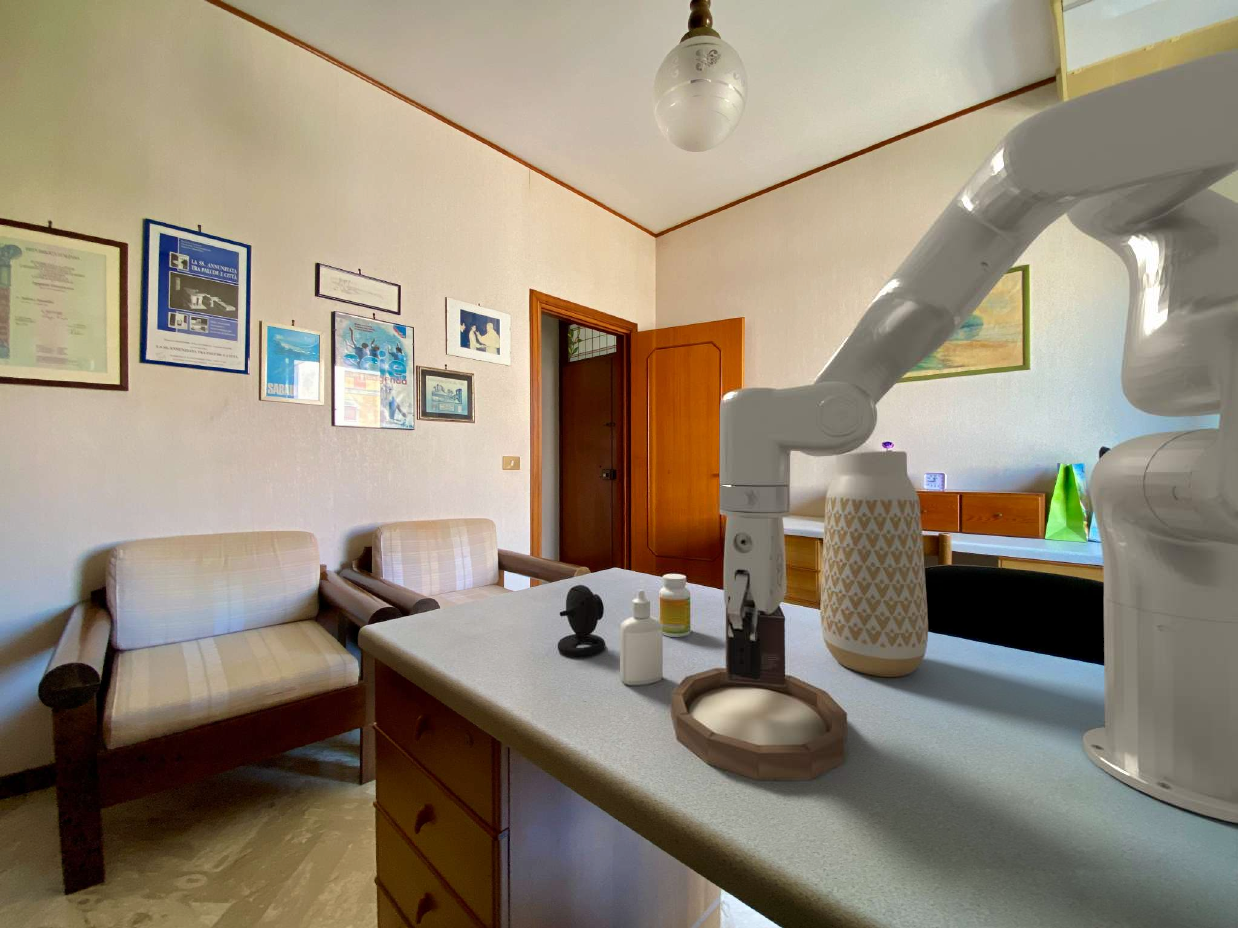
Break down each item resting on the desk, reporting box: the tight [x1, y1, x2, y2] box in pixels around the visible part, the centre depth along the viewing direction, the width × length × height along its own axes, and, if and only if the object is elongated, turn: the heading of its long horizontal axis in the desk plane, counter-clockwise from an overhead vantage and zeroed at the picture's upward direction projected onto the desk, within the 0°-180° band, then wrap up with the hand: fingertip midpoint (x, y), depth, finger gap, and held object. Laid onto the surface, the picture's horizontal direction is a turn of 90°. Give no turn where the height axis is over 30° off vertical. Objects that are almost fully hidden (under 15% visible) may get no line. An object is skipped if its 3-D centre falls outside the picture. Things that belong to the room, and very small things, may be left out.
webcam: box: [557, 584, 606, 659], centre depth 74 cm, size 8×8×10 cm
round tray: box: [670, 667, 848, 781], centre depth 52 cm, size 18×18×2 cm
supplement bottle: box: [658, 573, 691, 638], centre depth 81 cm, size 5×5×10 cm
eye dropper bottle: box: [619, 589, 664, 686], centre depth 63 cm, size 4×6×12 cm
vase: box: [819, 450, 929, 678], centre depth 68 cm, size 14×14×31 cm
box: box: [725, 603, 786, 686], centre depth 52 cm, size 6×6×7 cm
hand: (753, 660), depth 52 cm, fingers closed on box, 7 cm apart
